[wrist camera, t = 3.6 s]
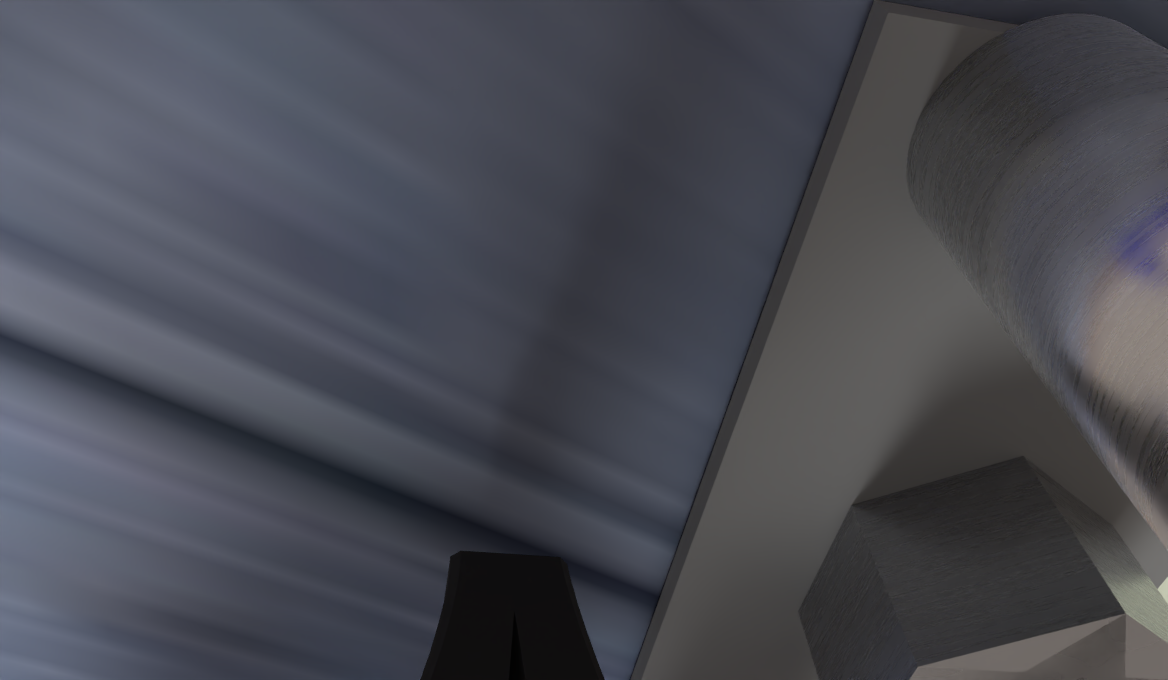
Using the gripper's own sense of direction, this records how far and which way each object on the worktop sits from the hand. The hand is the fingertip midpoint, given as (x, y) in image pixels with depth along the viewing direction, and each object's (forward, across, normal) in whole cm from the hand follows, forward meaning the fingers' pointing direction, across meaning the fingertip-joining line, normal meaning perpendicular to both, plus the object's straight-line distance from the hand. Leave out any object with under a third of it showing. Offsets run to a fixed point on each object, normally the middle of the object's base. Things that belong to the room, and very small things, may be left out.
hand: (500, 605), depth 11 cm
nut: (+1, -7, 0) cm, 7 cm away
